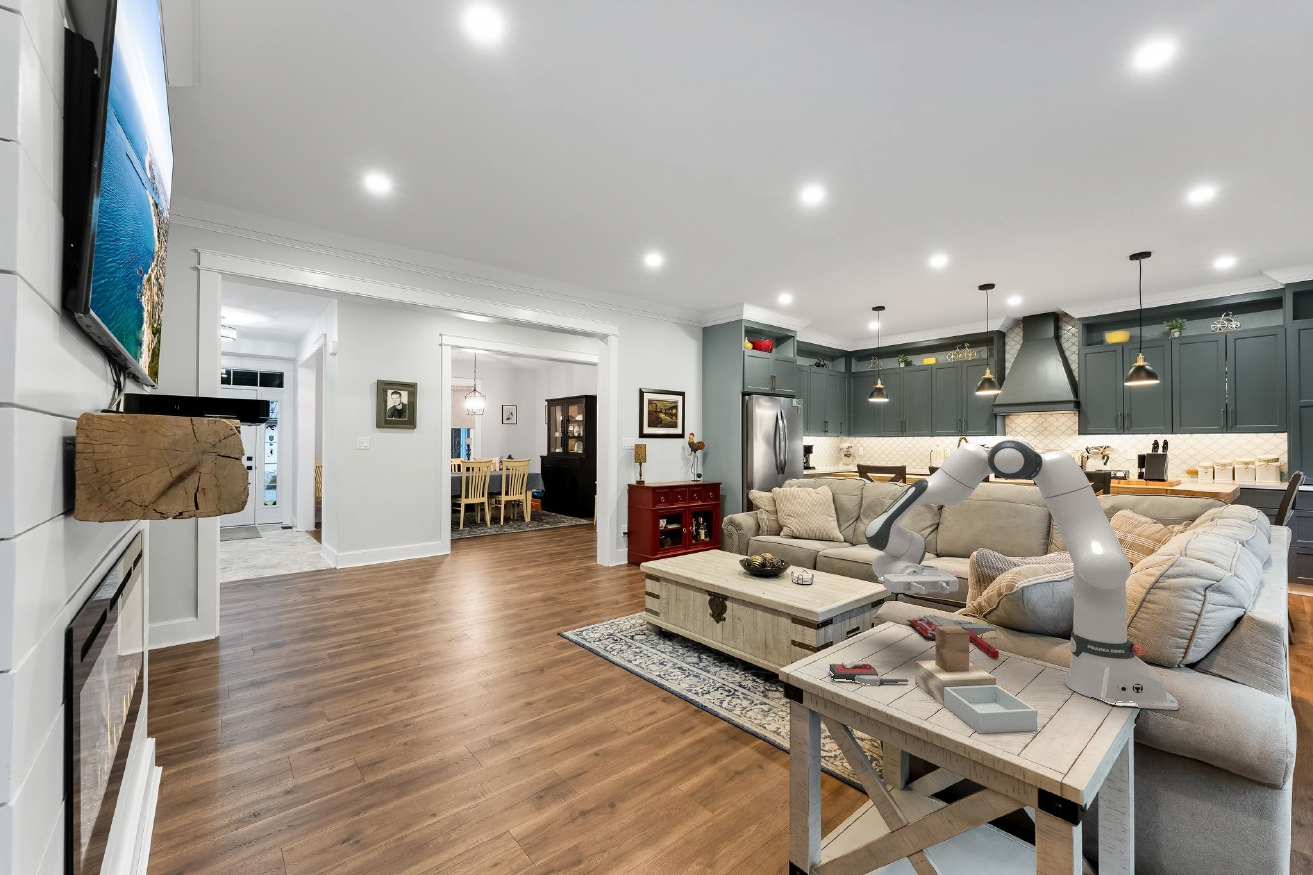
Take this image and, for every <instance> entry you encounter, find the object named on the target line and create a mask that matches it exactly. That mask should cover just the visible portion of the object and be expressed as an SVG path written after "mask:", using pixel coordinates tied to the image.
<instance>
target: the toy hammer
mask: <svg viewBox="0 0 1313 875" xmlns="http://www.w3.org/2000/svg"><path fill="white" fill-rule="evenodd" d="M965 620H966V619H951V618H945V617H944V616H943V617H942V616H938V615H935V614H928V615H923V616H917V617H912V619H911V618H907V619H906V621H907V622H908V623H909V624H910V625H912V626H913V628H915V629H916V630H917V631H918V632H920V634H922V635H923V636H924V637H925V638H931V640H936V626H959V627H961V628H962V629H964V630H966V631H968V632H970V643H972V644H973V645H975V646H976V647H978V648H979V649H980V650H982V652H984V653H985V654H987V655H988V656H990V657H991V658H994V659H999V658H1000V651H999V650H997V649H996V648H995V647H993V646H992V645H990V644H989V643H988V642H986V641H985V640H984V639H983V638H979V637H978V636H977V635H980V634H982V633H986V632H989V631H996V632H997V627H995V626H993V625H992V626H990V625H991V624H990V625H983V624H978V623H972V622H970V621H969V622H968V621H965Z"/></svg>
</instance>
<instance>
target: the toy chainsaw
mask: <svg viewBox="0 0 1313 875" xmlns="http://www.w3.org/2000/svg"><path fill="white" fill-rule="evenodd" d="M830 671H831V672H832V673H833V674H834V675H833V676H831V675H830V678H833V679H846V680H852V681H858V682H860V683H864V684H870V685H880V684H882V685H883V684H898V683H909V680H908V679H907V678H882V677H880V678H879V672H878V671H877V670H876V668H875V667H874V666H872V664H870V663H869V662H868V661H866V660H852V661H851V662H849V663H846V661H845V662H844V661H842V662H841V663H830V664H829V672H830ZM880 686H881V685H880Z"/></svg>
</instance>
